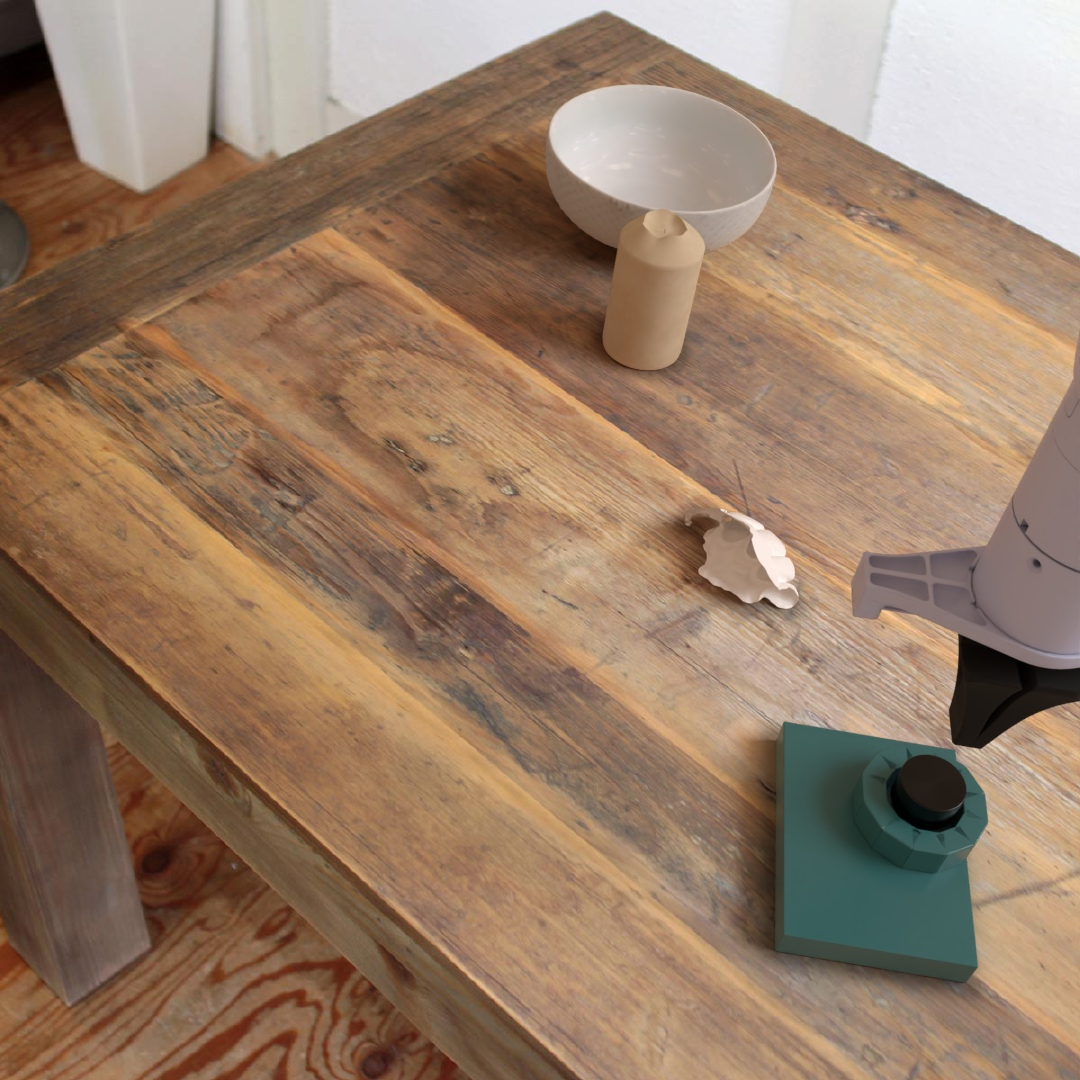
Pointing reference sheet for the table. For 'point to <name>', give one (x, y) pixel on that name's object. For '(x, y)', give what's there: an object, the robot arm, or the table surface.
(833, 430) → the table surface
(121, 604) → the table surface
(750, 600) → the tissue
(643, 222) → the candle
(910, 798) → the button
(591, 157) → the cereal bowl
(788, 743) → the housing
